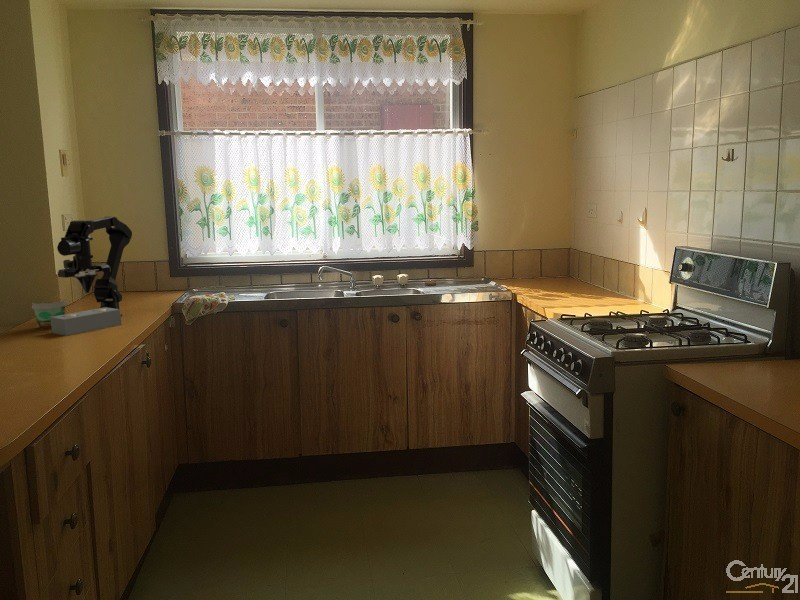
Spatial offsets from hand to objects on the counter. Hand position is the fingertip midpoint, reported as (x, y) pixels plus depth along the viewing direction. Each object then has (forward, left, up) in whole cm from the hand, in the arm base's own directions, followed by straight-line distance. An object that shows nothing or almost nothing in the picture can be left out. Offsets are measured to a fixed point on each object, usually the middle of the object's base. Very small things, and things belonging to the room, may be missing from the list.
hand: (87, 292), depth 278 cm
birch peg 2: (+1, +10, -12) cm, 16 cm away
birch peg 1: (+13, +10, -12) cm, 20 cm away
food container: (+13, -5, -12) cm, 19 cm away
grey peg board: (+7, +10, -12) cm, 17 cm away
